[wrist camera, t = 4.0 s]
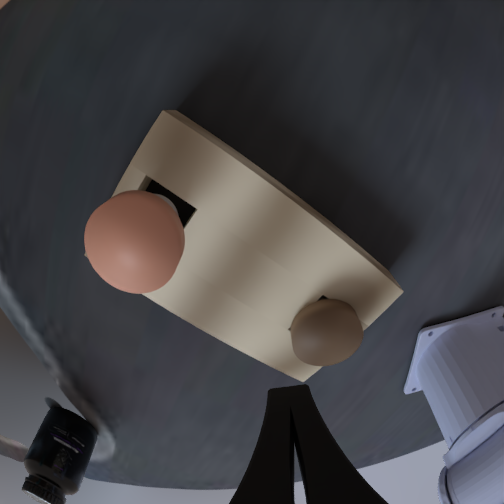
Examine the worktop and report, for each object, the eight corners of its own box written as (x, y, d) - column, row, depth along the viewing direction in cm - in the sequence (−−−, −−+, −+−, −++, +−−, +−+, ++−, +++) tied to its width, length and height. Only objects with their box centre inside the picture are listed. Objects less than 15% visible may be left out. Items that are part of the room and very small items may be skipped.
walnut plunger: (348, 272, 18) (365, 306, 15) (346, 323, 20) (360, 359, 17) (283, 281, 19) (289, 318, 15) (289, 331, 20) (294, 370, 17)
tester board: (388, 270, 19) (403, 291, 17) (299, 357, 22) (303, 382, 20) (176, 110, 15) (162, 110, 12) (102, 237, 18) (84, 255, 16)
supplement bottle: (88, 413, 27) (55, 503, 16) (105, 443, 30) (81, 522, 19) (40, 398, 26) (2, 477, 16) (60, 429, 29) (32, 500, 18)
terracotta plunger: (185, 169, 14) (164, 189, 10) (202, 249, 15) (189, 288, 12) (108, 186, 14) (72, 209, 11) (130, 259, 15) (103, 297, 12)
